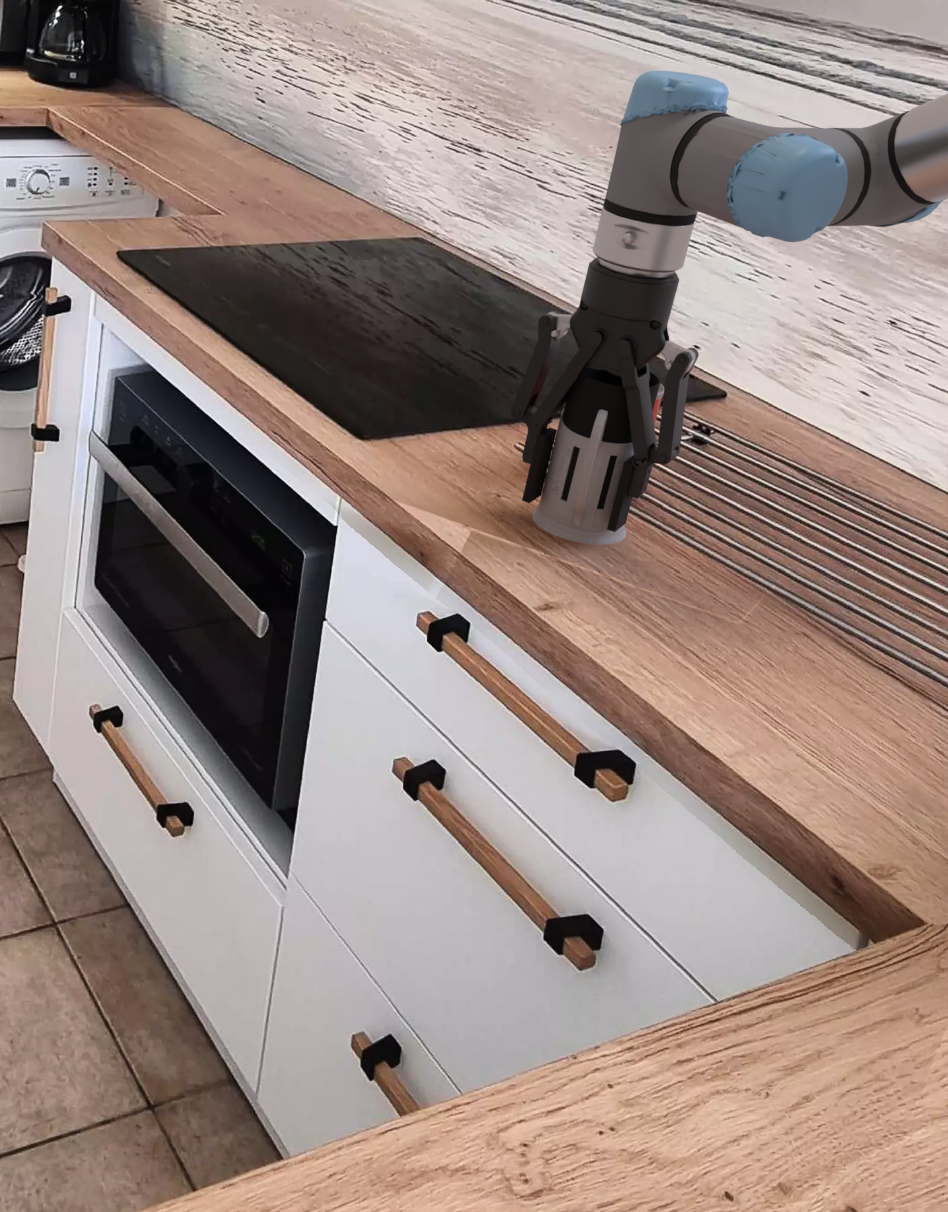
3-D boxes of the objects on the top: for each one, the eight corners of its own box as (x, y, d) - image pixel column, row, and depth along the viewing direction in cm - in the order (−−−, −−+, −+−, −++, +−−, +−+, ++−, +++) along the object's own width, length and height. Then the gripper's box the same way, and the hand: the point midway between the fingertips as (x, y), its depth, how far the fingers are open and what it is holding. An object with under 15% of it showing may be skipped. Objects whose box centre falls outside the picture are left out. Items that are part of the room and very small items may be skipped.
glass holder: (631, 522, 150) (672, 370, 143) (612, 578, 138) (656, 416, 131) (539, 499, 152) (575, 350, 145) (512, 553, 140) (550, 393, 133)
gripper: (506, 243, 136) (454, 488, 146) (741, 303, 126) (667, 561, 136) (541, 230, 141) (488, 467, 152) (768, 287, 132) (695, 536, 142)
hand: (573, 511), depth 144 cm, fingers closed on glass holder, 7 cm apart
